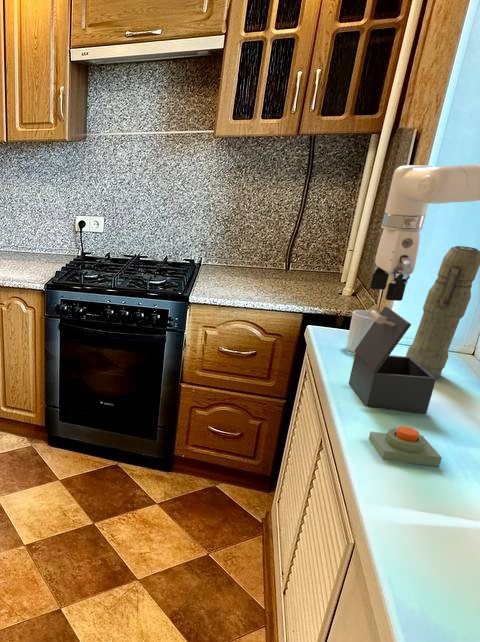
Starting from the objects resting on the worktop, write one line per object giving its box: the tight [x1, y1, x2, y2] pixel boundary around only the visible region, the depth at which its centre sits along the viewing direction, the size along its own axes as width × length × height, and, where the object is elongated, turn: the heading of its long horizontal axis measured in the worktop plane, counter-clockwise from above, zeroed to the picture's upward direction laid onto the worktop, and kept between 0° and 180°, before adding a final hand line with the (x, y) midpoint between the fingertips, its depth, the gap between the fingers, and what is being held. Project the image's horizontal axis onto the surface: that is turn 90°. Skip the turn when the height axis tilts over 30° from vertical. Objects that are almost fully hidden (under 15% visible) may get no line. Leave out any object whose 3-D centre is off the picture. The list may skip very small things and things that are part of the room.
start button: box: [396, 426, 420, 442], centre depth 109 cm, size 4×4×2 cm
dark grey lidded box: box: [348, 352, 437, 415], centre depth 132 cm, size 13×14×9 cm
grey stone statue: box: [405, 245, 480, 378], centre depth 142 cm, size 9×12×35 cm
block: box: [368, 427, 443, 467], centre depth 110 cm, size 10×8×4 cm
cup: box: [345, 309, 375, 353], centre depth 161 cm, size 8×8×12 cm
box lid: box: [354, 306, 412, 373], centre depth 129 cm, size 13×14×5 cm
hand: (385, 294), depth 126 cm, fingers open, 9 cm apart
